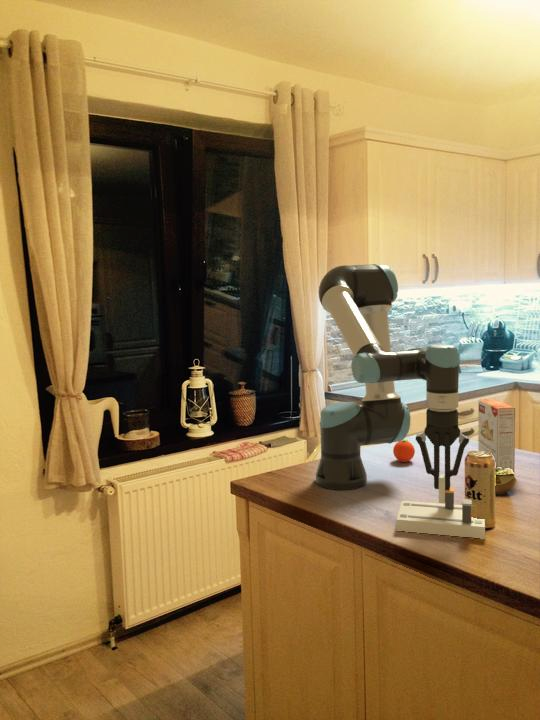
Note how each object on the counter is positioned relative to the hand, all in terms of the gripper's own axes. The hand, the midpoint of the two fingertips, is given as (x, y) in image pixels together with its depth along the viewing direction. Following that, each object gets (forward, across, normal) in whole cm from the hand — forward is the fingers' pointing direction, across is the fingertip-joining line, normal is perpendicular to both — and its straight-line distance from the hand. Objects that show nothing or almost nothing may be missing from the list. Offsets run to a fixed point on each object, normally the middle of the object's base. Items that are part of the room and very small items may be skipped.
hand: (442, 501), depth 156 cm
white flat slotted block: (+5, 0, -4) cm, 6 cm away
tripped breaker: (+1, +2, 0) cm, 2 cm away
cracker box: (+5, +14, +45) cm, 47 cm away
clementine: (+5, -14, +48) cm, 50 cm away
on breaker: (+1, +6, -8) cm, 10 cm away
